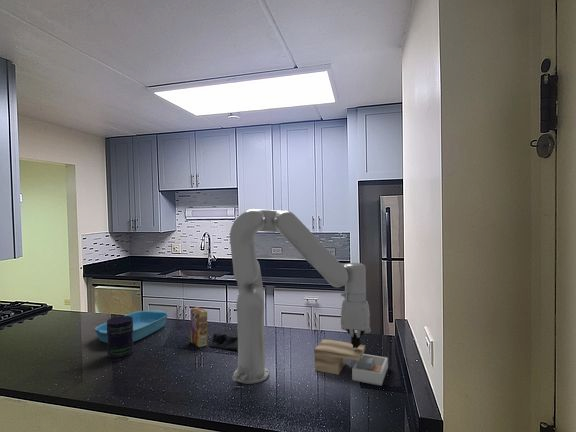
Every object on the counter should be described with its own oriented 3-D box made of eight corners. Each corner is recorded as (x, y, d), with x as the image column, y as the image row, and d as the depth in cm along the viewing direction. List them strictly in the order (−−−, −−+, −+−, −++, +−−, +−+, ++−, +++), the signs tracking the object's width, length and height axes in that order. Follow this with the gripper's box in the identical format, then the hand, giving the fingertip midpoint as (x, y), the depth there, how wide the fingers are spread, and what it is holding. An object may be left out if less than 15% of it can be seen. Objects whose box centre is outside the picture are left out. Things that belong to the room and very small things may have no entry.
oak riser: (358, 379, 121) (358, 356, 121) (314, 370, 128) (314, 349, 127) (365, 366, 131) (365, 345, 131) (323, 358, 138) (323, 339, 137)
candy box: (208, 345, 153) (207, 311, 153) (199, 347, 150) (198, 312, 150) (199, 339, 160) (199, 306, 160) (190, 342, 157) (190, 308, 157)
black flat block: (247, 356, 142) (247, 345, 142) (205, 347, 152) (205, 336, 152) (266, 343, 155) (266, 333, 155) (227, 336, 165) (227, 326, 165)
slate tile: (357, 363, 124) (358, 369, 124) (371, 363, 122) (372, 369, 122) (360, 358, 128) (361, 363, 128) (373, 357, 126) (374, 363, 126)
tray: (381, 385, 116) (381, 374, 116) (352, 380, 120) (352, 368, 120) (387, 368, 129) (387, 357, 129) (361, 363, 133) (360, 353, 133)
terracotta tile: (364, 369, 123) (364, 374, 123) (379, 371, 121) (379, 377, 121) (367, 363, 127) (367, 368, 127) (381, 366, 125) (381, 371, 125)
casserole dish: (140, 320, 189) (139, 307, 189) (175, 323, 183) (175, 310, 183) (84, 346, 154) (83, 330, 154) (126, 351, 148) (126, 334, 148)
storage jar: (123, 361, 137) (122, 324, 137) (101, 359, 139) (100, 322, 139) (138, 351, 147) (138, 316, 147) (118, 349, 149) (117, 315, 149)
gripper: (332, 297, 126) (333, 347, 126) (374, 301, 120) (374, 354, 120) (338, 293, 133) (338, 340, 133) (377, 296, 127) (378, 346, 127)
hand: (355, 346), depth 127 cm, fingers closed
